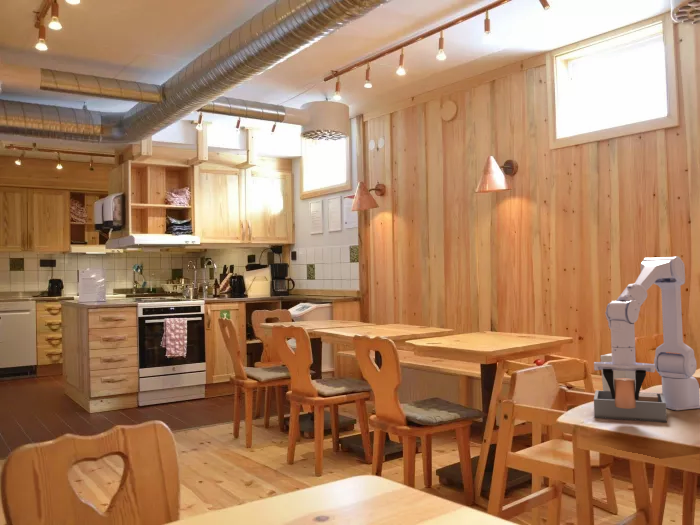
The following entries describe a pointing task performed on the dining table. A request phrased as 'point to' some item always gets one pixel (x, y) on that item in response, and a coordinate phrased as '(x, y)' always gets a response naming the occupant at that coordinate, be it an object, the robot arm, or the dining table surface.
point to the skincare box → (615, 372)
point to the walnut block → (648, 397)
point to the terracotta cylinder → (624, 393)
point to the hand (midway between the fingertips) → (625, 398)
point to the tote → (642, 412)
